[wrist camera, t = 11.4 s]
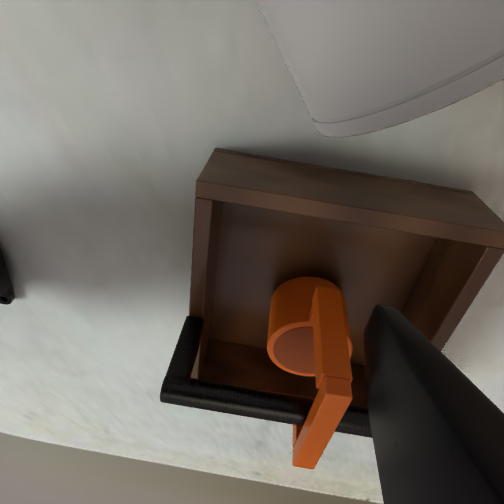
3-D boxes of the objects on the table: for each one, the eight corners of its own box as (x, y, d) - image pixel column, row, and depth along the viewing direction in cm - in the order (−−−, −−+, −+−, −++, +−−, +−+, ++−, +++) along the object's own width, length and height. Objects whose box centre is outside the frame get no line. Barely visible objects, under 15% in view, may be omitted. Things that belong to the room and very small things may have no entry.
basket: (199, 340, 27) (184, 392, 23) (214, 148, 19) (196, 180, 15) (379, 370, 27) (393, 427, 23) (472, 191, 19) (516, 234, 15)
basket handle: (185, 329, 20) (159, 407, 16) (186, 313, 19) (159, 391, 15) (431, 370, 20) (466, 459, 16) (440, 356, 19) (479, 445, 15)
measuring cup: (265, 322, 24) (252, 464, 17) (283, 243, 20) (276, 385, 13) (334, 334, 24) (349, 481, 17) (365, 257, 20) (403, 407, 13)
